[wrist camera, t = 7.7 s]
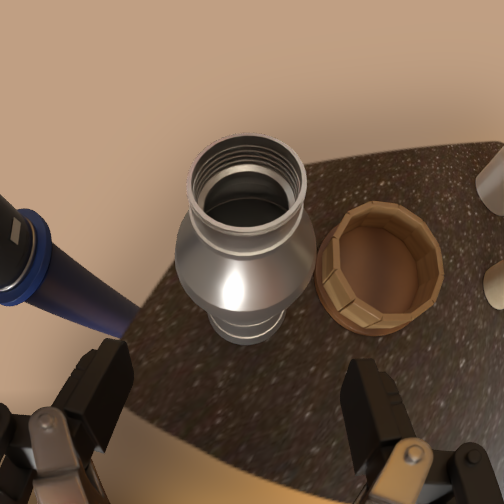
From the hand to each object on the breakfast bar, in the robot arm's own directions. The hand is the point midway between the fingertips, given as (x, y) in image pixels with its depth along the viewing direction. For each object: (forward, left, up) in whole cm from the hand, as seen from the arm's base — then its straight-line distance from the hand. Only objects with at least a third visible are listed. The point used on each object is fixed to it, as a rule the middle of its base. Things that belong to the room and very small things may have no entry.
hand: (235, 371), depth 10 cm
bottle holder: (+12, +9, -16) cm, 22 cm away
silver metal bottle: (0, +5, -17) cm, 17 cm away
